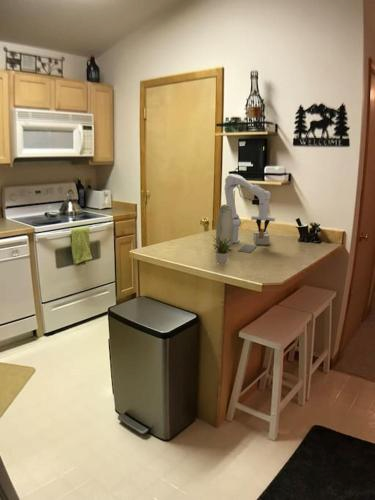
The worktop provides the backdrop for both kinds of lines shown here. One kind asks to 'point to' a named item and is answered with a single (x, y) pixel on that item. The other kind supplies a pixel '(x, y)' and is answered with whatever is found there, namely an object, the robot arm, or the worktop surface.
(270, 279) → the worktop surface
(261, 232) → the spatula
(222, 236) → the grey rounded cylinder
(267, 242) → the coffee box
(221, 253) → the house plant
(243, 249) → the mat
